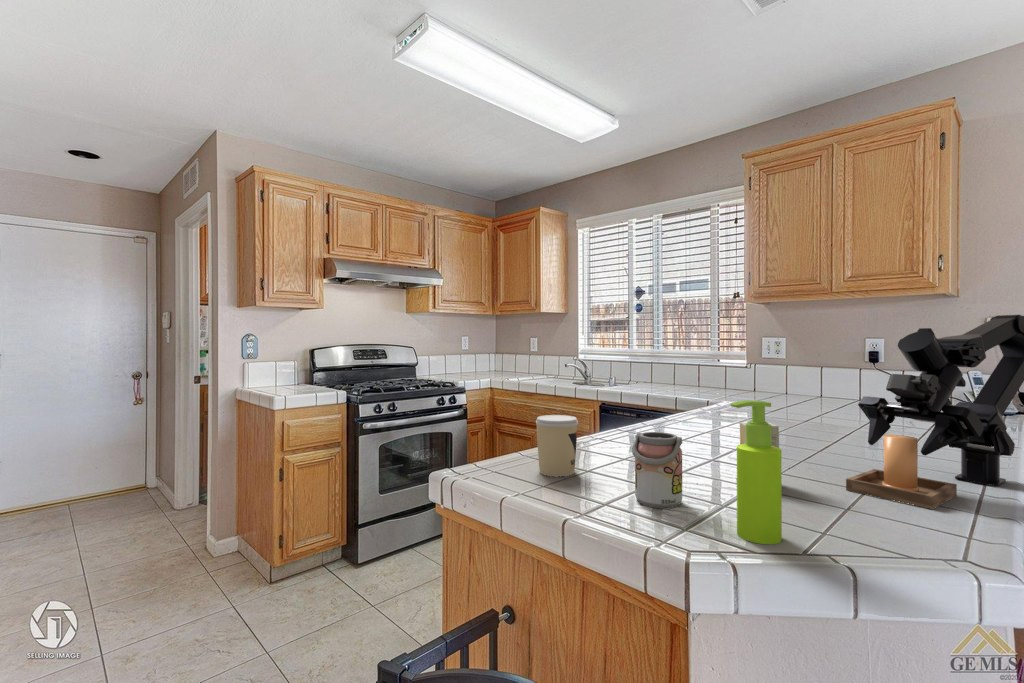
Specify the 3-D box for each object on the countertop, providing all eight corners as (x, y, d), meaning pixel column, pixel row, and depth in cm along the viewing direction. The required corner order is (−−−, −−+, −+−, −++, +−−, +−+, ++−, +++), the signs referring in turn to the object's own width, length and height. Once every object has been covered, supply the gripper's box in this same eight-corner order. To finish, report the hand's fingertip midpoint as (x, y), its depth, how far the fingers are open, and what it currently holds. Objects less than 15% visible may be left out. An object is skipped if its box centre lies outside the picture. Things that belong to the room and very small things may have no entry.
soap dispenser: (722, 529, 74) (722, 399, 74) (765, 528, 75) (765, 398, 75) (744, 545, 68) (743, 403, 68) (790, 543, 69) (790, 403, 69)
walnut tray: (874, 479, 101) (874, 469, 101) (956, 496, 90) (956, 484, 90) (846, 490, 93) (846, 478, 93) (932, 509, 83) (932, 496, 83)
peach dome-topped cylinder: (883, 484, 95) (883, 433, 96) (919, 489, 92) (919, 436, 92) (881, 490, 91) (881, 437, 91) (918, 496, 88) (918, 441, 88)
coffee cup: (580, 478, 102) (580, 421, 102) (536, 478, 102) (536, 421, 102) (575, 466, 112) (575, 414, 112) (535, 466, 112) (534, 414, 112)
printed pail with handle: (674, 515, 80) (674, 442, 80) (625, 506, 85) (625, 437, 85) (688, 499, 88) (687, 433, 88) (642, 492, 93) (642, 429, 93)
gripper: (864, 357, 102) (826, 413, 98) (973, 361, 84) (932, 428, 81) (889, 393, 104) (853, 448, 101) (1000, 404, 87) (962, 471, 83)
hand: (895, 448), depth 91 cm, fingers open, 9 cm apart
